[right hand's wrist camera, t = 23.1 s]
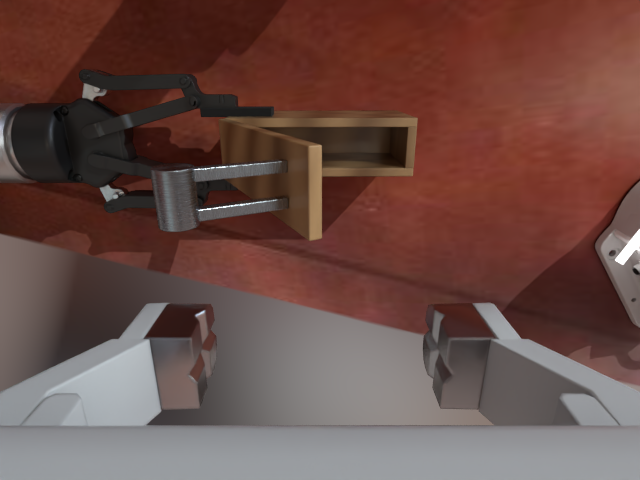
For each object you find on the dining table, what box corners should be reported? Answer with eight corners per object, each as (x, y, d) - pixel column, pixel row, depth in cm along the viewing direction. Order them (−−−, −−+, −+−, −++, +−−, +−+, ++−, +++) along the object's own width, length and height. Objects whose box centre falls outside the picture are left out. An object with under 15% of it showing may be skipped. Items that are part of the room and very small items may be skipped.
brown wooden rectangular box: (397, 110, 46) (417, 117, 37) (394, 158, 48) (413, 176, 39) (241, 111, 46) (224, 118, 37) (244, 159, 48) (228, 177, 39)
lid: (322, 144, 22) (154, 157, 18) (322, 239, 24) (170, 267, 20) (227, 118, 37) (125, 122, 33) (232, 177, 38) (136, 187, 35)
